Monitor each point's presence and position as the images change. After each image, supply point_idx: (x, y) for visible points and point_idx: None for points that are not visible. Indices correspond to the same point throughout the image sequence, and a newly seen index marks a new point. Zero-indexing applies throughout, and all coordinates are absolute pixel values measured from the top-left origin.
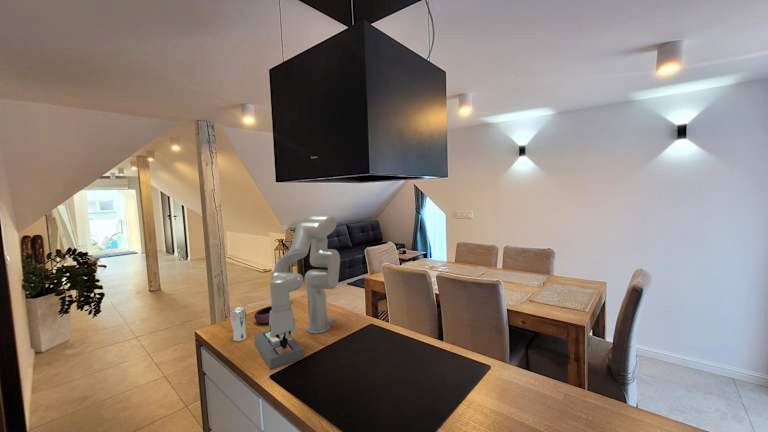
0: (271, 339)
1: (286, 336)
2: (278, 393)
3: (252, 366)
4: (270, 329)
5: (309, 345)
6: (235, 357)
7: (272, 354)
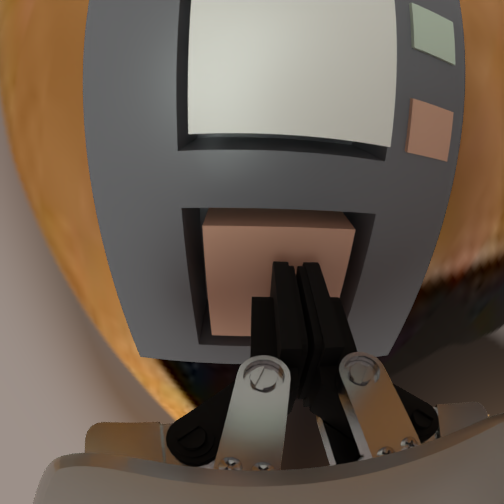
0: (198, 32)
1: (330, 429)
2: (177, 415)
3: (62, 204)
4: (46, 487)
5: (474, 184)
6: (8, 41)
7: (160, 316)
